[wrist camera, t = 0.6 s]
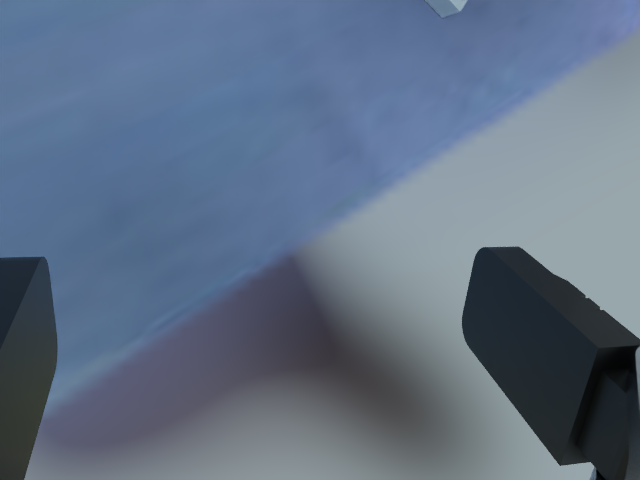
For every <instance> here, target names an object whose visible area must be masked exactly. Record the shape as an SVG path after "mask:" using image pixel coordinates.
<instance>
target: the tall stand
mask: <svg viewBox="0 0 640 480" xmlns="http://www.w3.org/2000/svg"><path fill="white" fill-rule="evenodd" d="M425 1H426V2H427V3H428V4H429V5H430V6H431V7H432V8H433V9H434V10H435V11H436V12H437V13H438V14H439V15H440V16H441V17H442V18H444V17H447V16H450V15H453V14H455V13H458V12H460V11H461V10H462V8H463V7H464V5H465V4H466V2H467V1H468V0H425Z"/></svg>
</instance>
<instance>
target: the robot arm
mask: <svg viewBox="0 0 640 480" xmlns="http://www.w3.org/2000/svg"><path fill="white" fill-rule="evenodd" d="M462 328H463V334H464V338H465V341H466V343H467V345H468V346H469V348H470V349H471V350H472V352H473V353H474V354H475V356H476V357H477V358H478V360H479V361H480V362H481V363H482V365H483V366H484V367H485V369H486V370H487V371H488V373H489V374H490V375H491V376H492V378H493V379H494V380H495V382H496V383H497V384H498V386H499V387H500V388H501V389H502V391H503V392H504V393H505V395H506V396H507V397H508V399H509V400H510V401H511V403H512V404H513V405H514V406H515V408H516V409H517V410H518V412H519V413H520V414H521V415H522V417H523V418H524V419H525V421H526V422H527V423H528V425H529V426H530V427H531V429H532V430H533V431H534V433H535V434H536V435H537V436H538V438H539V439H540V440H541V442H542V443H543V444H544V446H545V447H546V448H547V449H548V451H549V452H550V453H551V455H552V456H553V457H554V459H555V460H556V461H557V463H558V464H559V465H560V466H561V465H569V464H577V463H586V462H591V463H592V464H593V465H594V469H593V472H592V474H591V477H590V480H640V339H639V338H637V337H636V336H635V335H634V334H632V333H631V332H630V331H629V330H628V329H626V328H625V327H624V326H623V325H621V324H620V323H619V322H618V321H616V320H615V319H614V318H613V317H611V316H610V315H609V314H608V313H607V312H605V311H604V310H600V307H599V306H598V305H597V304H595V303H594V302H593V301H592V300H591V299H589V298H585V295H584V294H583V293H582V292H581V291H579V290H578V289H577V288H576V287H575V286H573V285H572V284H571V283H570V282H568V281H566V280H564V279H562V278H560V277H558V276H556V275H554V274H552V273H551V272H550V271H549V270H548V269H546V268H545V267H544V266H543V265H542V264H540V263H539V262H538V261H537V260H535V259H534V258H533V257H532V256H531V255H529V254H528V253H527V252H526V251H524V250H523V249H521V248H520V247H484V248H481V249H480V250H479V251H478V252H477V254H476V256H475V259H474V263H473V268H472V272H471V277H470V282H469V287H468V292H467V296H466V301H465V306H464V310H463V316H462ZM56 363H57V332H56V324H55V316H54V307H53V299H52V291H51V282H50V274H49V268H48V263H47V260H46V259H45V257H13V258H0V480H24V478H25V474H26V471H27V467H28V464H29V460H30V457H31V454H32V450H33V447H34V443H35V440H36V436H37V433H38V429H39V426H40V422H41V419H42V415H43V412H44V408H45V405H46V401H47V398H48V394H49V391H50V388H51V384H52V381H53V377H54V374H55V369H56Z"/></svg>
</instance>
